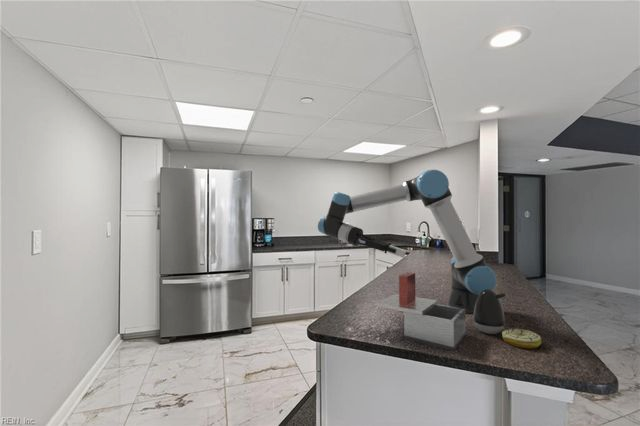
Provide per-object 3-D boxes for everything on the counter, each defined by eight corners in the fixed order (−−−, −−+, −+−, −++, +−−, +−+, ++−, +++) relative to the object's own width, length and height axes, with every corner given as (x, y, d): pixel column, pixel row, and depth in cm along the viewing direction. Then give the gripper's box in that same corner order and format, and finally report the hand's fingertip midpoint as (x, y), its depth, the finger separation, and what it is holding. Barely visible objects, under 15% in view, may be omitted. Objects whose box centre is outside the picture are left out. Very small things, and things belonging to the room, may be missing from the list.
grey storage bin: (404, 338, 106) (404, 311, 106) (420, 324, 118) (420, 301, 118) (453, 350, 96) (453, 321, 96) (465, 334, 108) (465, 309, 109)
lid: (376, 306, 112) (376, 275, 112) (395, 296, 125) (395, 268, 125) (422, 315, 102) (421, 281, 102) (437, 303, 115) (437, 273, 115)
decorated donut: (507, 334, 109) (507, 324, 109) (544, 343, 101) (544, 332, 101) (498, 343, 101) (497, 331, 102) (537, 353, 94) (537, 341, 94)
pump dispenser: (505, 339, 104) (505, 294, 104) (471, 333, 110) (471, 290, 110) (506, 330, 113) (505, 288, 113) (474, 324, 118) (474, 285, 118)
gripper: (355, 242, 135) (406, 261, 123) (341, 244, 124) (396, 265, 112) (359, 226, 135) (412, 243, 123) (346, 226, 123) (402, 246, 111)
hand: (404, 254), depth 117 cm, fingers closed
